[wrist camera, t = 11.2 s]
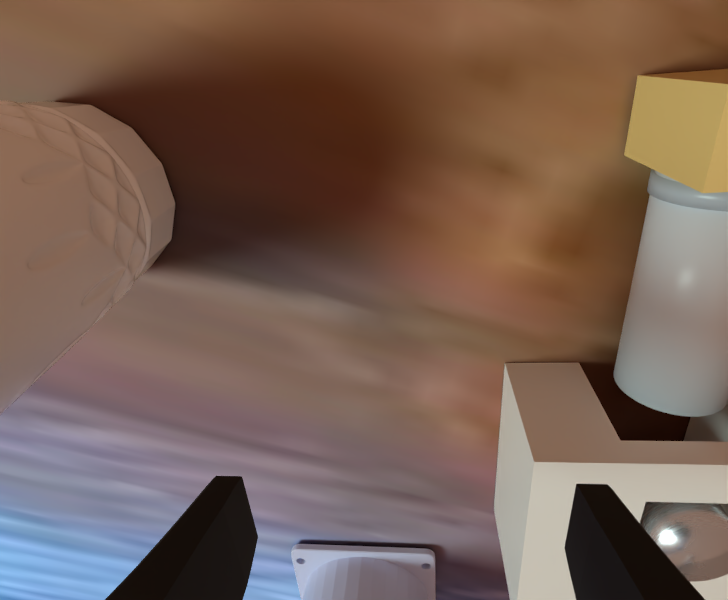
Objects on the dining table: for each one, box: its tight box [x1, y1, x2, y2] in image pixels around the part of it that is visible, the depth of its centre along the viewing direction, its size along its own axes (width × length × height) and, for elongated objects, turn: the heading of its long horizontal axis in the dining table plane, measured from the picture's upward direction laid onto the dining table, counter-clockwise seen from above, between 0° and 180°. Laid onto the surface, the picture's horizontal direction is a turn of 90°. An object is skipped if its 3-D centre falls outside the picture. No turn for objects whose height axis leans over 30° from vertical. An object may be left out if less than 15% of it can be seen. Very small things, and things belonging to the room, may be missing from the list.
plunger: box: [640, 502, 728, 582], centre depth 17 cm, size 3×3×2 cm
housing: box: [494, 362, 728, 600], centre depth 19 cm, size 9×11×6 cm
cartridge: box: [613, 69, 728, 417], centre depth 15 cm, size 10×4×5 cm, turn 4°
